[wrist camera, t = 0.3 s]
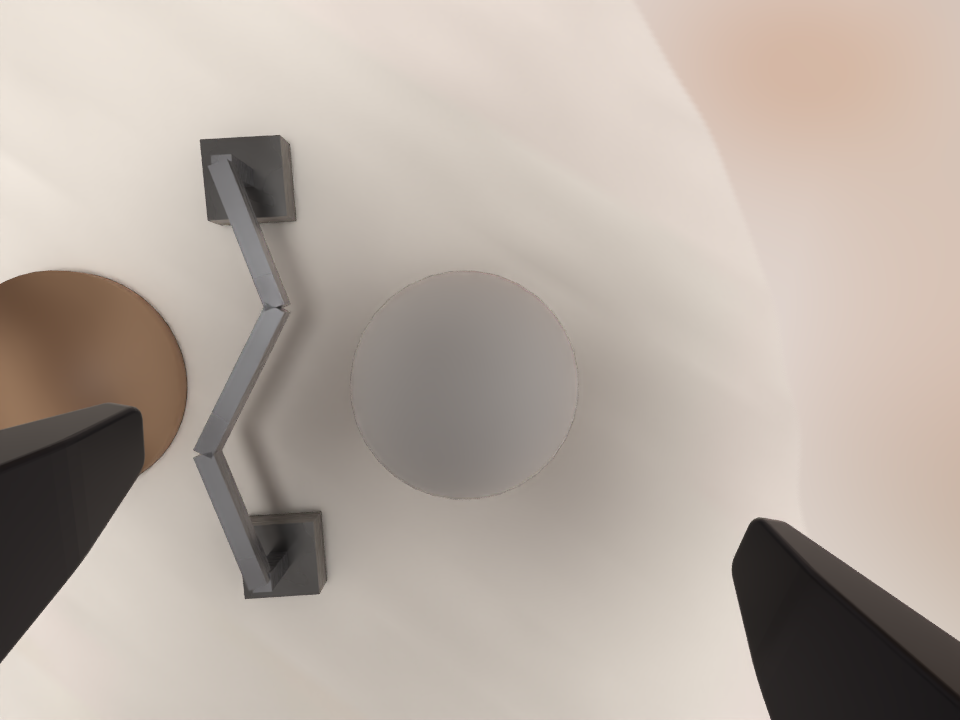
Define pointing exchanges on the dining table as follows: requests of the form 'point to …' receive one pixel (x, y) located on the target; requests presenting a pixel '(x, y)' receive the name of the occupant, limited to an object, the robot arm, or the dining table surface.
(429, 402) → the lightbulb
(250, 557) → the grey metal bracket
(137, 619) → the dining table surface
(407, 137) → the dining table surface
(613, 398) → the dining table surface
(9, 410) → the walnut coaster
